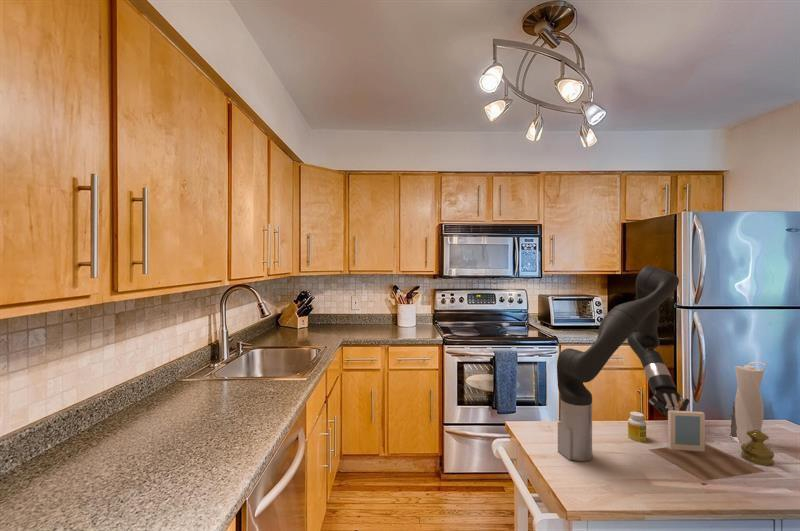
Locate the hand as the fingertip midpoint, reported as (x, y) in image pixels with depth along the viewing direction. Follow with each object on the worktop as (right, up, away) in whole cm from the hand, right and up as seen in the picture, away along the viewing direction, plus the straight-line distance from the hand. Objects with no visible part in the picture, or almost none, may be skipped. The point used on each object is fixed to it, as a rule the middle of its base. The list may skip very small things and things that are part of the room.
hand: (679, 426), depth 127 cm
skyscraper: (+25, -7, +3) cm, 27 cm away
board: (0, -7, -11) cm, 13 cm away
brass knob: (+16, -7, -10) cm, 20 cm away
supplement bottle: (-12, -7, +4) cm, 14 cm away
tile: (-1, -6, -4) cm, 7 cm away
